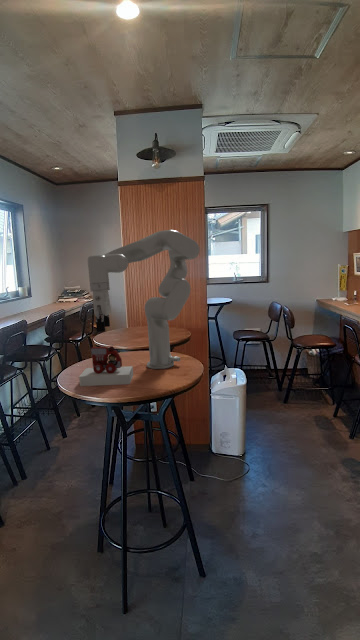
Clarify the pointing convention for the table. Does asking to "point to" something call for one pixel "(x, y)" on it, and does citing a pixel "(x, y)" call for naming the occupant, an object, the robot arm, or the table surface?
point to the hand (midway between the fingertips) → (103, 329)
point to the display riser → (106, 377)
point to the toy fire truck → (105, 359)
